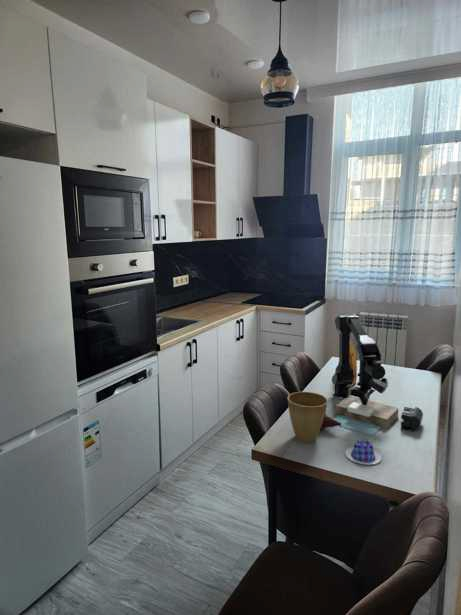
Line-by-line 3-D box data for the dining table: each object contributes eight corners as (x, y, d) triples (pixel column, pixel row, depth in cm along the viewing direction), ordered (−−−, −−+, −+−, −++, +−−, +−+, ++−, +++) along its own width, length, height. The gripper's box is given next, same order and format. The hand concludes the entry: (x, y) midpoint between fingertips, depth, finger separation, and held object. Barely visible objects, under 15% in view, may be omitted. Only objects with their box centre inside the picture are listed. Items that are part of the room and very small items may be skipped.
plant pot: (316, 451, 145) (318, 410, 142) (280, 440, 153) (280, 400, 151) (332, 435, 157) (333, 396, 154) (297, 425, 165) (298, 388, 163)
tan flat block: (335, 413, 176) (335, 405, 176) (349, 403, 187) (349, 395, 186) (386, 428, 162) (386, 419, 162) (397, 416, 173) (398, 408, 172)
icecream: (344, 413, 161) (307, 409, 169) (339, 416, 155) (301, 411, 163) (343, 431, 161) (307, 426, 168) (338, 434, 154) (301, 429, 162)
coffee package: (334, 384, 211) (335, 343, 208) (339, 377, 222) (341, 338, 219) (353, 387, 207) (355, 345, 203) (358, 380, 218) (360, 340, 214)
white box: (347, 411, 169) (347, 406, 169) (353, 406, 174) (353, 402, 174) (368, 417, 164) (368, 412, 163) (374, 412, 168) (374, 407, 168)
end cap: (419, 433, 158) (421, 417, 157) (400, 429, 162) (401, 413, 161) (422, 423, 167) (423, 408, 166) (403, 419, 170) (404, 404, 169)
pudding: (375, 448, 148) (376, 435, 147) (386, 466, 136) (387, 452, 135) (342, 448, 148) (342, 434, 147) (350, 466, 136) (350, 451, 136)
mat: (329, 422, 168) (329, 422, 168) (339, 415, 175) (339, 414, 175) (372, 436, 156) (372, 435, 156) (381, 427, 163) (381, 426, 163)
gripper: (377, 381, 157) (375, 419, 159) (393, 369, 171) (391, 404, 174) (350, 375, 164) (348, 412, 166) (367, 364, 178) (366, 398, 181)
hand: (364, 406), depth 172 cm, fingers closed
